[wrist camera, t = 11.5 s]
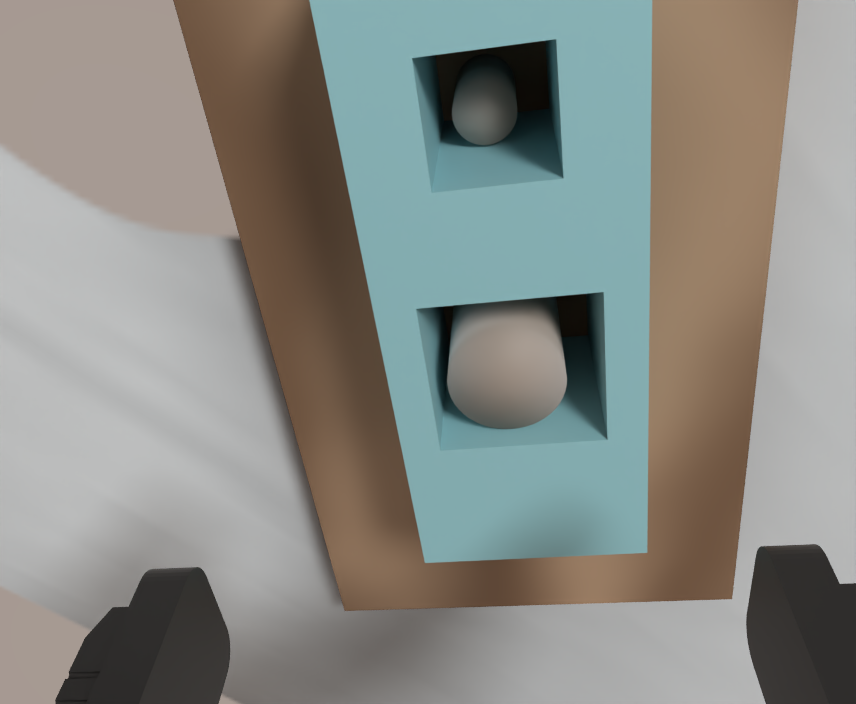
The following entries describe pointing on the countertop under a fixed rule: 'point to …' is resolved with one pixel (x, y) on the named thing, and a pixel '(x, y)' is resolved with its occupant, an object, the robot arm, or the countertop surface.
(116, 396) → the countertop surface
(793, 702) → the robot arm
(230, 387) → the countertop surface
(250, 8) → the jig
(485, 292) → the teal slotted block
